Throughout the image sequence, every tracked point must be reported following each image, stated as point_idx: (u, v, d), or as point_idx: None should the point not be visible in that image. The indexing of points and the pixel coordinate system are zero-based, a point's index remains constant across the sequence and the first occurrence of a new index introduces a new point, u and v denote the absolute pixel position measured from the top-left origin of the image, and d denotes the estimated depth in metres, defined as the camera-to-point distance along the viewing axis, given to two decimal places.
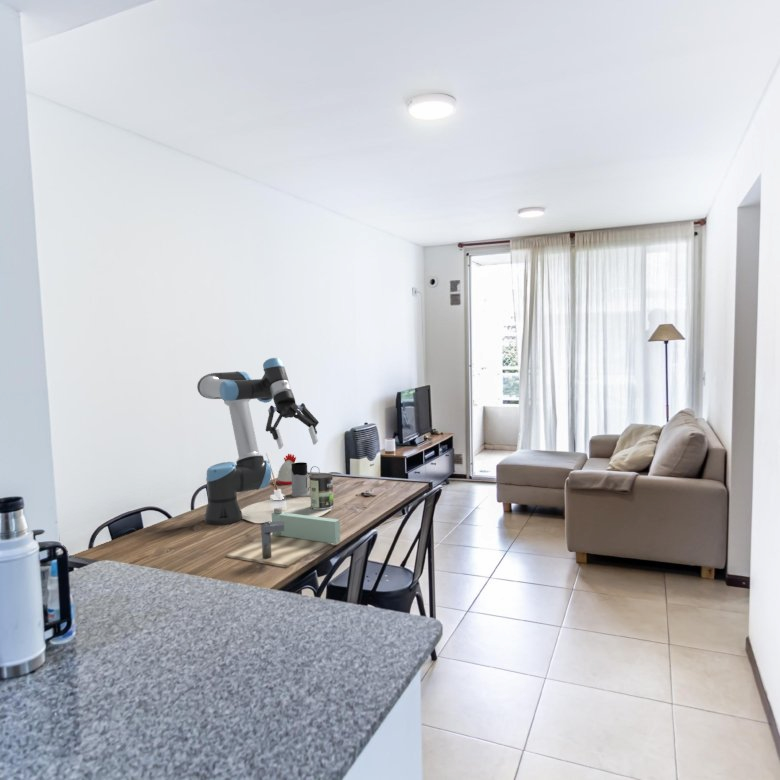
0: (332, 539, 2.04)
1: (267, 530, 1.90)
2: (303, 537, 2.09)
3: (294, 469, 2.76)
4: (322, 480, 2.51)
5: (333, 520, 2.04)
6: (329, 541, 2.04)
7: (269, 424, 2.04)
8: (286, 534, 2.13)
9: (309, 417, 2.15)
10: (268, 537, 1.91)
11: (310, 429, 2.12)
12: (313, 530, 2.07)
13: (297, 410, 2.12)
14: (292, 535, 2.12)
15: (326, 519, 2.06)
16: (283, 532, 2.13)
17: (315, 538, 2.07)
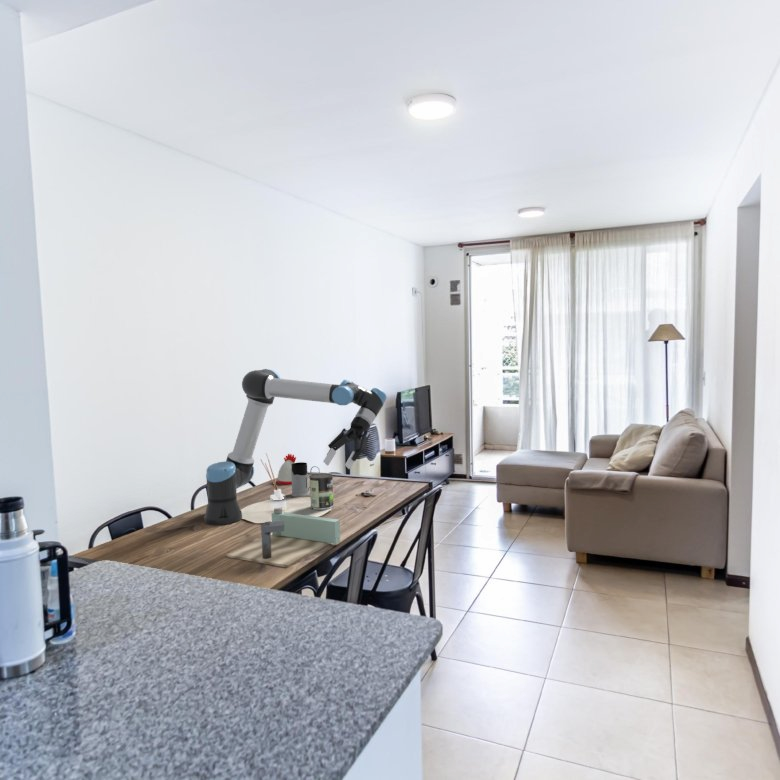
0: (332, 539, 2.04)
1: (267, 530, 1.90)
2: (303, 537, 2.09)
3: (294, 469, 2.76)
4: (322, 480, 2.51)
5: (333, 520, 2.04)
6: (329, 541, 2.04)
7: None
8: (286, 534, 2.13)
9: None
10: (268, 537, 1.91)
11: (333, 452, 2.31)
12: (313, 530, 2.07)
13: None
14: (292, 535, 2.12)
15: (326, 519, 2.06)
16: (283, 532, 2.13)
17: (315, 538, 2.07)
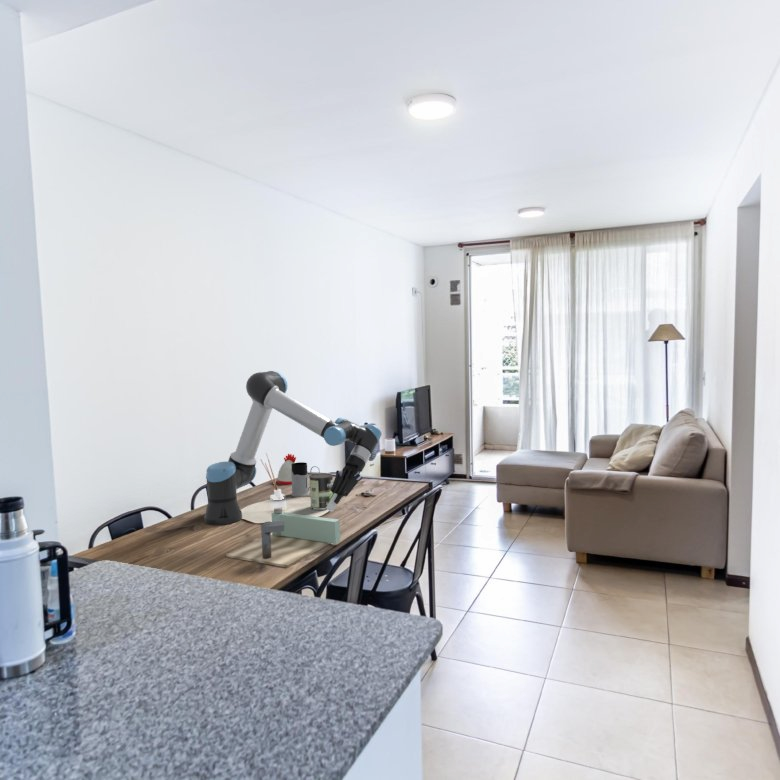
0: (332, 539, 2.04)
1: (267, 530, 1.90)
2: (303, 537, 2.09)
3: (294, 469, 2.76)
4: (322, 480, 2.51)
5: (333, 520, 2.04)
6: (329, 541, 2.04)
7: None
8: (286, 534, 2.13)
9: None
10: (268, 537, 1.91)
11: None
12: (313, 530, 2.07)
13: None
14: (292, 535, 2.12)
15: (326, 519, 2.06)
16: (283, 532, 2.13)
17: (315, 538, 2.07)
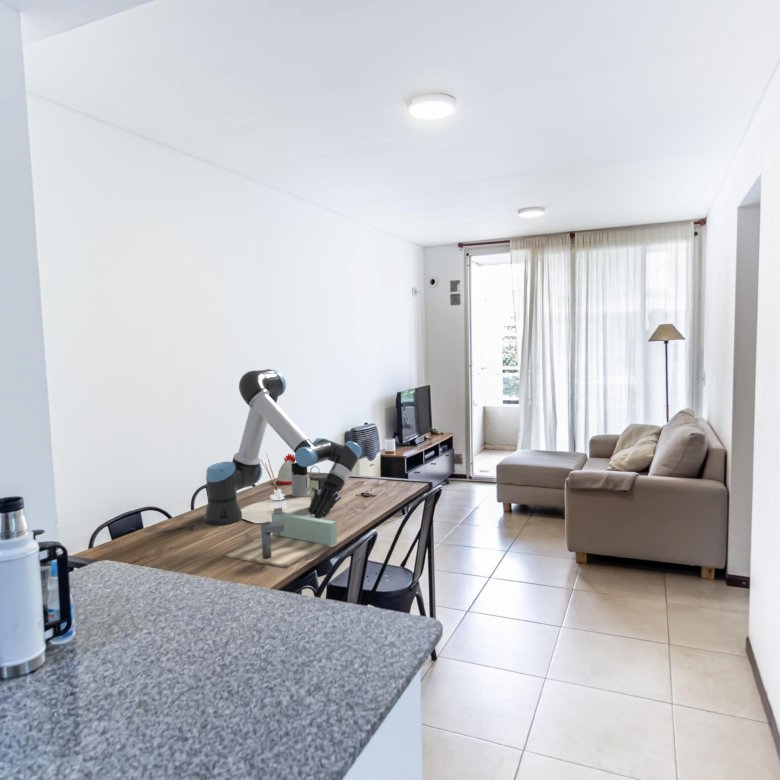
0: (328, 541, 2.02)
1: (267, 530, 1.90)
2: (301, 538, 2.09)
3: (294, 469, 2.76)
4: (322, 480, 2.51)
5: (329, 522, 2.03)
6: (325, 543, 2.03)
7: None
8: (285, 534, 2.13)
9: None
10: (268, 537, 1.91)
11: None
12: (310, 531, 2.06)
13: None
14: (291, 535, 2.11)
15: (323, 520, 2.04)
16: (282, 532, 2.13)
17: (312, 539, 2.06)
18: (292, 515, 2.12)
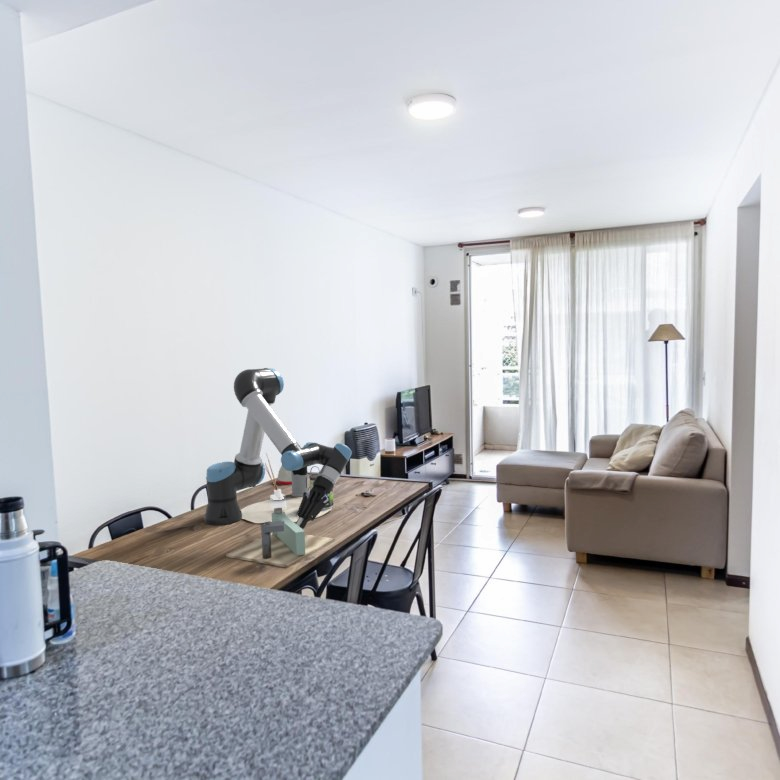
0: (295, 550, 1.94)
1: (267, 530, 1.90)
2: (284, 542, 2.05)
3: None
4: None
5: (298, 530, 1.94)
6: (294, 551, 1.95)
7: None
8: (278, 535, 2.12)
9: None
10: (268, 537, 1.91)
11: None
12: (288, 537, 2.01)
13: None
14: (280, 538, 2.09)
15: (295, 528, 1.97)
16: (277, 533, 2.13)
17: (289, 545, 2.00)
18: (284, 517, 2.10)
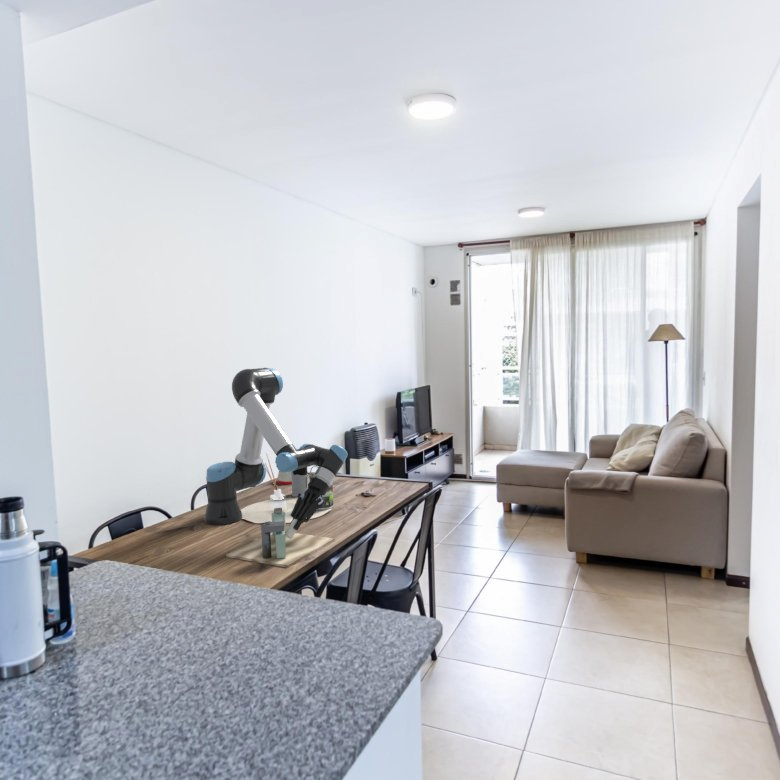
0: (276, 552, 1.92)
1: (267, 530, 1.90)
2: None
3: None
4: None
5: (279, 533, 1.92)
6: None
7: None
8: None
9: None
10: (268, 537, 1.91)
11: None
12: None
13: None
14: (275, 538, 2.09)
15: None
16: None
17: None
18: (279, 518, 2.09)
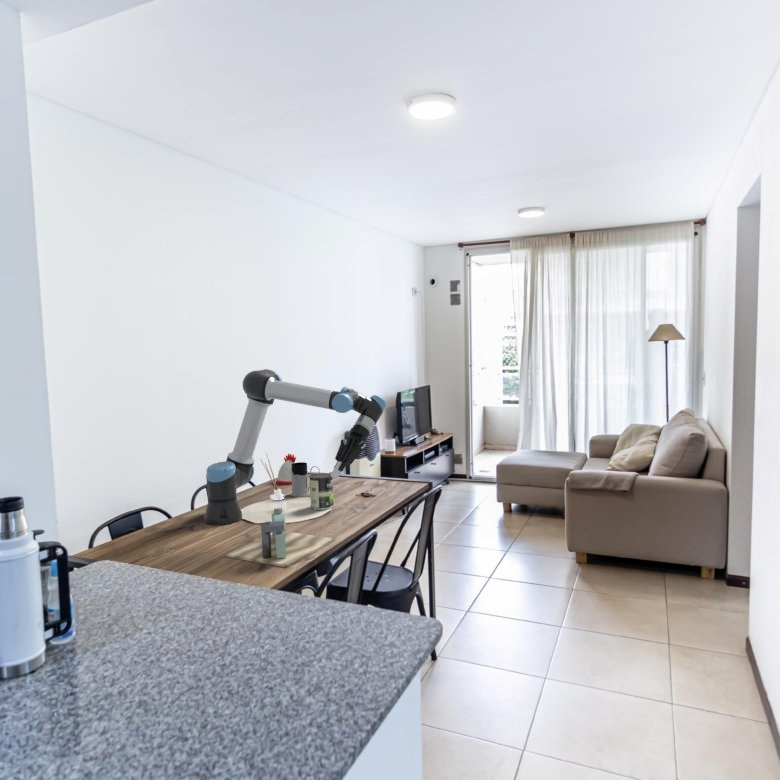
0: (276, 552, 1.92)
1: (267, 530, 1.90)
2: None
3: (294, 469, 2.76)
4: (322, 480, 2.51)
5: (279, 533, 1.92)
6: None
7: None
8: None
9: (342, 453, 2.31)
10: (268, 537, 1.91)
11: None
12: None
13: None
14: (275, 538, 2.09)
15: None
16: None
17: None
18: (279, 518, 2.09)
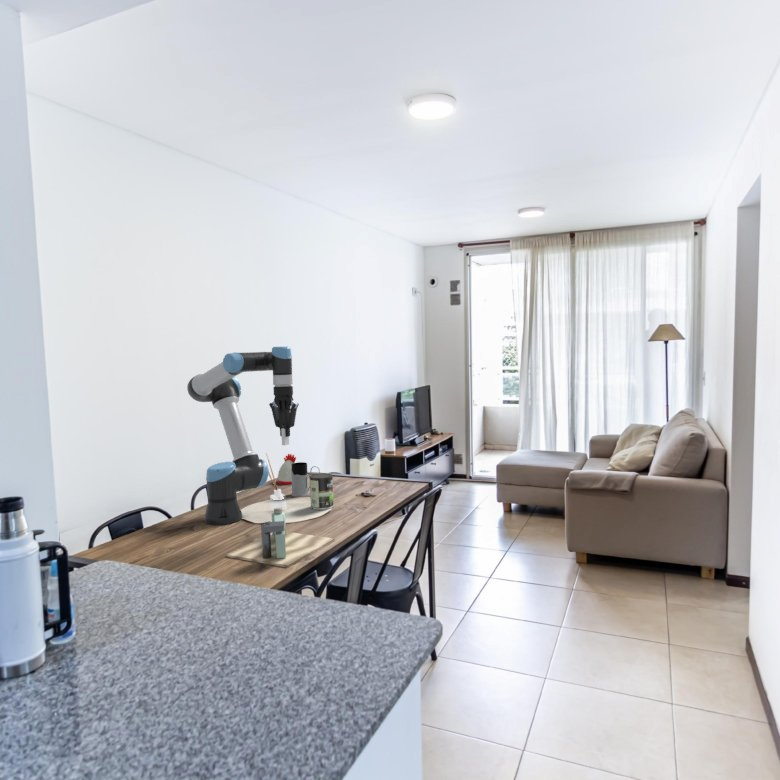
0: (276, 552, 1.92)
1: (267, 530, 1.90)
2: None
3: (294, 469, 2.76)
4: (322, 480, 2.51)
5: (279, 533, 1.92)
6: None
7: None
8: None
9: (278, 416, 2.30)
10: (268, 537, 1.91)
11: None
12: None
13: None
14: (275, 538, 2.09)
15: None
16: None
17: None
18: (279, 518, 2.09)
